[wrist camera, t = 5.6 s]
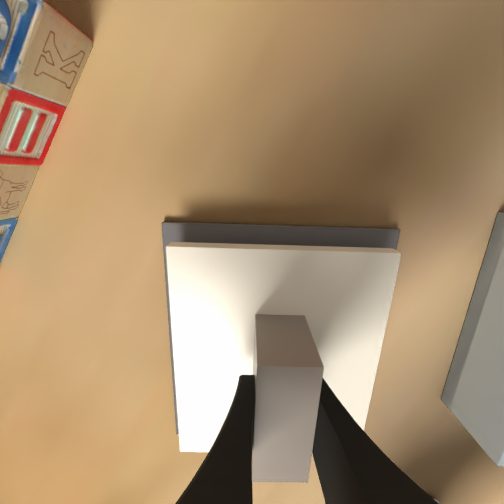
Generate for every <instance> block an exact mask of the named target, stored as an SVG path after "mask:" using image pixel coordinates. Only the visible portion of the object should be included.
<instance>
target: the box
mask: <svg viewBox="0 0 504 504" xmlns="http://www.w3.org/2000/svg"><path fill="white" fill-rule="evenodd" d="M441 400H442V401H443V402H444V403H445V405H446V406H447V407H448V408H449V409H450V411H451V412H452V413H453V414H454V415H455V417H456V418H457V419H458V420H459V421H460V423H461V424H462V425H463V426H464V427H465V428H466V430H467V431H468V432H469V433H470V434H471V436H472V437H473V438H474V439H475V440H476V442H477V443H478V444H479V445H480V446H481V448H482V449H483V450H484V451H485V452H486V453H487V455H488V456H489V457H490V458H491V459H492V461H493V462H494V463H495V464H496V465H497V466H504V212H498V215H497V218H496V221H495V224H494V228H493V231H492V234H491V237H490V241H489V244H488V247H487V250H486V254H485V257H484V260H483V263H482V267H481V270H480V273H479V276H478V280H477V283H476V286H475V289H474V293H473V296H472V299H471V302H470V306H469V309H468V312H467V315H466V319H465V322H464V325H463V328H462V332H461V335H460V338H459V341H458V345H457V348H456V351H455V354H454V358H453V361H452V364H451V367H450V371H449V374H448V377H447V380H446V384H445V387H444V390H443V393H442V397H441Z"/></svg>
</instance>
